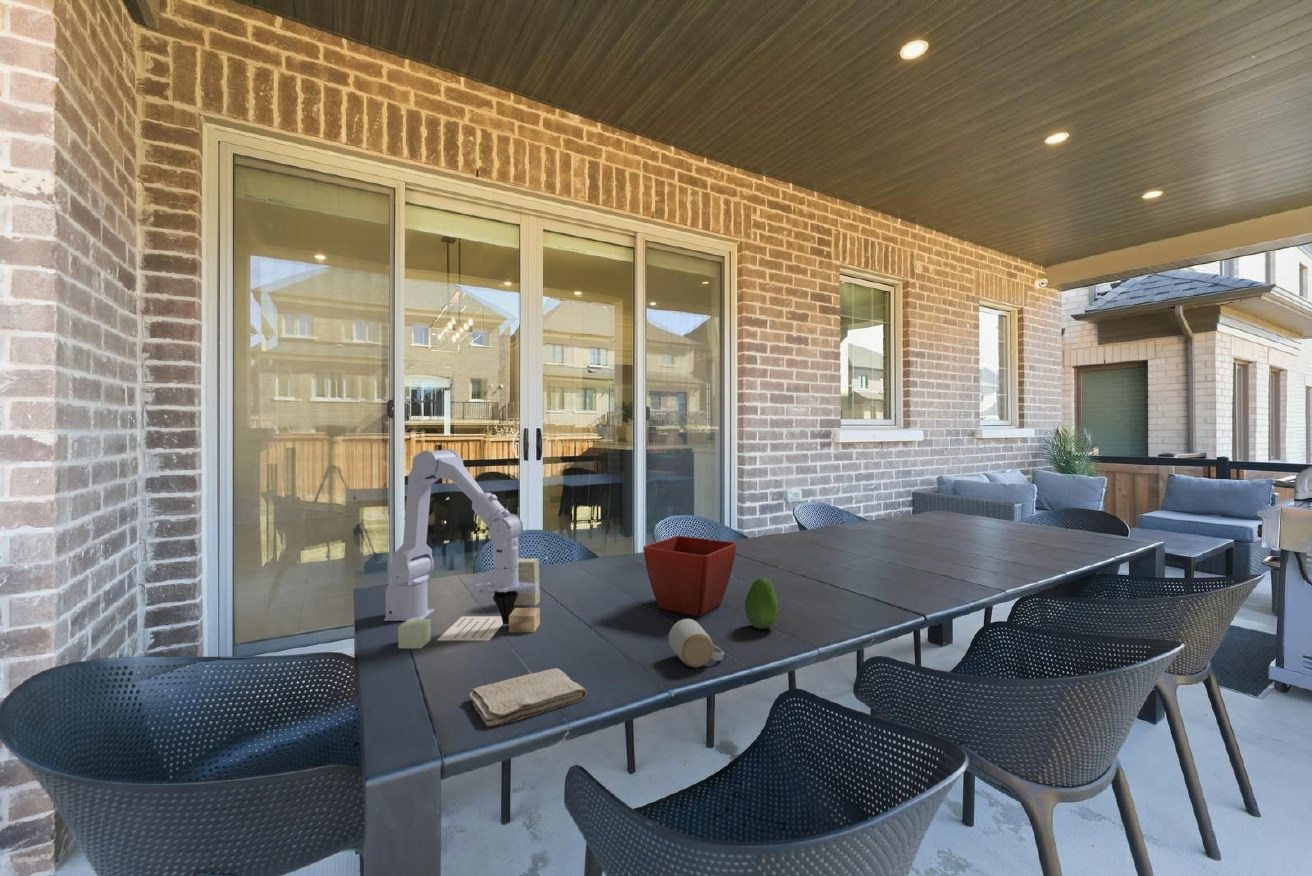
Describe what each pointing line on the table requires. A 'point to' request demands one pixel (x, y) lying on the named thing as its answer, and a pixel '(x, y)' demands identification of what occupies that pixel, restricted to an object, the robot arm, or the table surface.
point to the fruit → (761, 604)
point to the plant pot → (689, 573)
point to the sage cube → (414, 633)
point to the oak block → (524, 620)
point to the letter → (473, 628)
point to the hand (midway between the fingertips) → (506, 622)
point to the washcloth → (525, 696)
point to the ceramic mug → (693, 644)
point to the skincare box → (528, 580)
